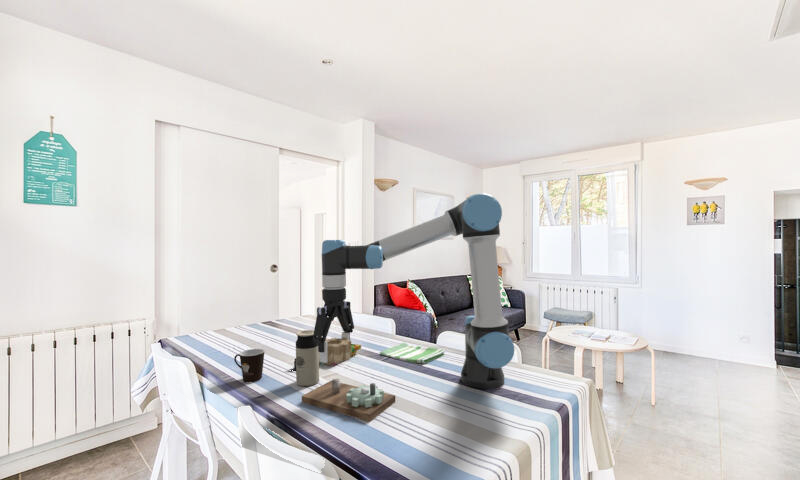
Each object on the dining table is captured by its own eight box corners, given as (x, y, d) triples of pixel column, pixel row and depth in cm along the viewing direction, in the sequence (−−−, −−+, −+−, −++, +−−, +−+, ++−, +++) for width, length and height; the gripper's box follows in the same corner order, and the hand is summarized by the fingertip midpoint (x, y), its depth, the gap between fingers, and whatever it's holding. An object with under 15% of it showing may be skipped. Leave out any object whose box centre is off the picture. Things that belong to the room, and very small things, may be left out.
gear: (390, 395, 111) (390, 379, 111) (370, 410, 102) (369, 393, 102) (361, 388, 117) (360, 373, 117) (339, 402, 107) (338, 385, 107)
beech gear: (357, 355, 117) (357, 340, 117) (337, 365, 108) (337, 348, 108) (333, 351, 122) (333, 336, 122) (312, 359, 113) (311, 344, 113)
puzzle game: (311, 352, 149) (339, 340, 167) (311, 364, 149) (340, 350, 167) (334, 356, 144) (361, 343, 162) (334, 367, 144) (361, 353, 162)
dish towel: (404, 346, 173) (404, 340, 173) (445, 355, 158) (445, 349, 158) (379, 356, 159) (379, 349, 159) (422, 366, 144) (422, 360, 144)
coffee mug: (269, 378, 133) (268, 351, 133) (246, 385, 127) (245, 357, 127) (254, 371, 141) (254, 346, 141) (232, 377, 135) (232, 351, 135)
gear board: (395, 401, 112) (395, 382, 112) (370, 421, 100) (369, 400, 100) (331, 386, 125) (330, 369, 125) (301, 402, 113) (301, 383, 113)
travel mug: (311, 376, 135) (311, 328, 135) (323, 382, 129) (322, 332, 129) (292, 382, 129) (291, 332, 129) (303, 388, 123) (302, 336, 124)
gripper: (346, 283, 127) (347, 346, 127) (299, 291, 107) (300, 366, 107) (364, 284, 123) (365, 349, 123) (318, 293, 103) (319, 370, 103)
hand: (335, 357), depth 115 cm, fingers closed on beech gear, 10 cm apart
